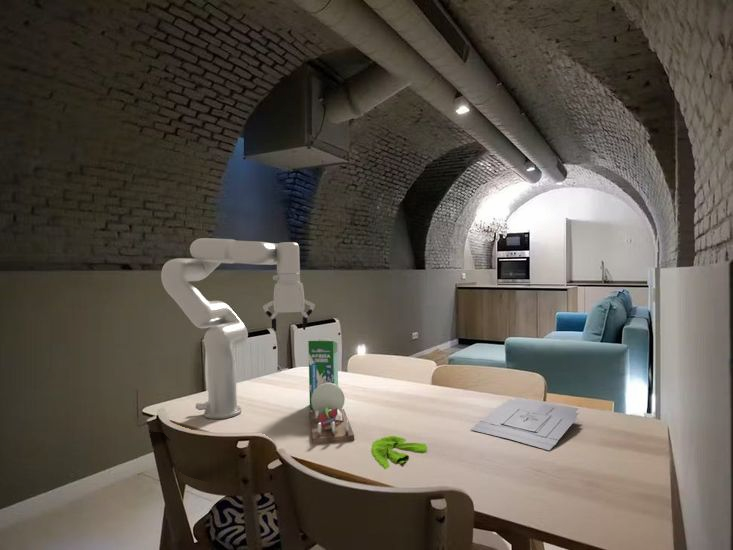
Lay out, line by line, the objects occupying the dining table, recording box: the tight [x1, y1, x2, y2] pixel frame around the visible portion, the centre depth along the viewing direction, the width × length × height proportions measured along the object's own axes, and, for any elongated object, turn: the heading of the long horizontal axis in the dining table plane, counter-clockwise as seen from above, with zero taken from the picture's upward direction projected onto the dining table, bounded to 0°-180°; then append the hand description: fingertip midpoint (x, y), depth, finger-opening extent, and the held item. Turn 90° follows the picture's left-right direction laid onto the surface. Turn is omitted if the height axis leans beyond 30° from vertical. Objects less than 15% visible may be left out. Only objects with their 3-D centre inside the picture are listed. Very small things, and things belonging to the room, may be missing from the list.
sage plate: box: [311, 383, 345, 415], centre depth 144 cm, size 11×1×11 cm, turn 100°
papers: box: [470, 396, 580, 451], centre depth 136 cm, size 24×30×4 cm
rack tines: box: [313, 408, 349, 437], centre depth 139 cm, size 9×24×4 cm, turn 10°
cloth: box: [370, 435, 428, 469], centre depth 118 cm, size 20×22×2 cm
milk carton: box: [308, 337, 339, 411], centre depth 160 cm, size 9×9×25 cm
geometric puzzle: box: [318, 407, 343, 430], centre depth 133 cm, size 7×7×8 cm
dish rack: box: [308, 410, 355, 445], centre depth 139 cm, size 12×25×2 cm, turn 10°
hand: (289, 329), depth 146 cm, fingers open, 9 cm apart
